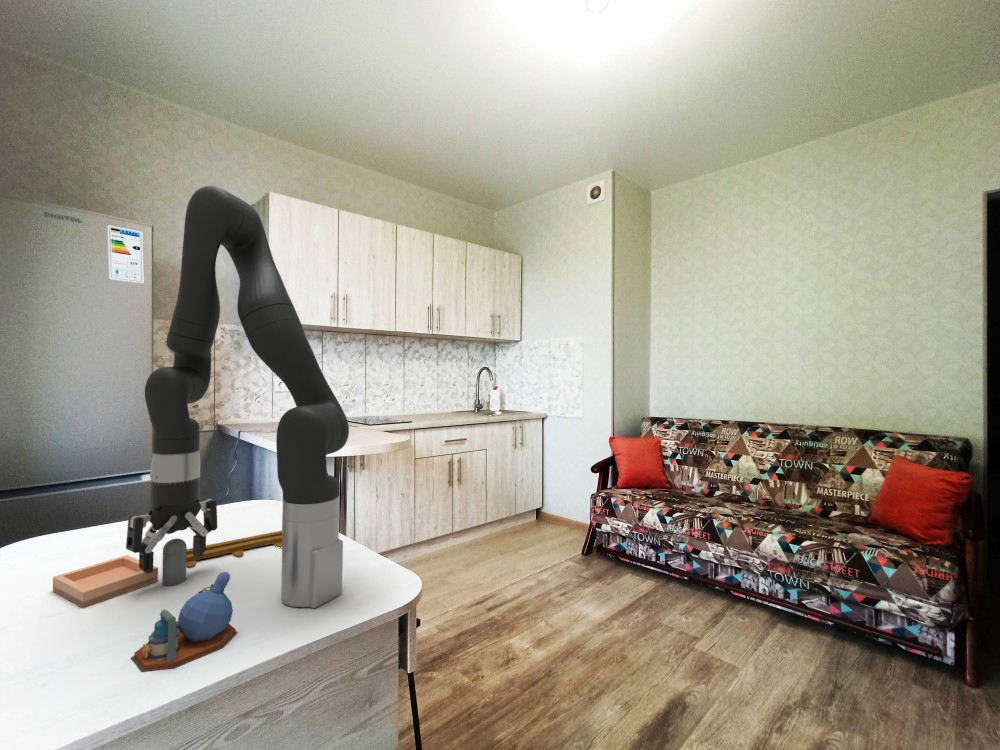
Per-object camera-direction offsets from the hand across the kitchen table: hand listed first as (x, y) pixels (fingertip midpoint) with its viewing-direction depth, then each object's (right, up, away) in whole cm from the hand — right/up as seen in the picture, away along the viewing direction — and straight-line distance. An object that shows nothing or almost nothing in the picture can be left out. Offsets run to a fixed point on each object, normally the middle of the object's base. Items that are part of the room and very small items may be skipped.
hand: (174, 563), depth 87 cm
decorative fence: (+4, -4, +16) cm, 17 cm away
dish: (-10, -3, -3) cm, 11 cm away
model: (+15, -4, -19) cm, 25 cm away
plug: (0, -3, 0) cm, 3 cm away
